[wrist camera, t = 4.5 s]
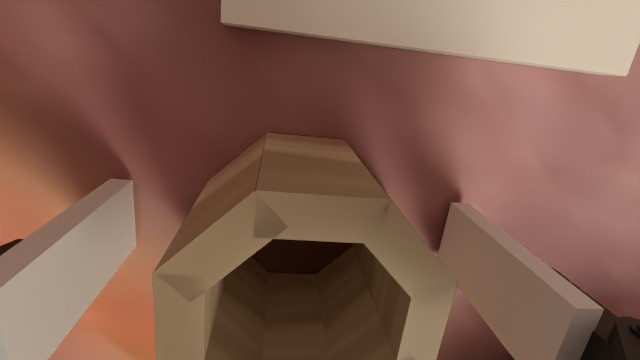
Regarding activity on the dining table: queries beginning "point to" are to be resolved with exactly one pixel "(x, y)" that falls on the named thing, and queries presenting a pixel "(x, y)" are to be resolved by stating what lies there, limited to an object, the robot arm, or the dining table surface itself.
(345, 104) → the dining table surface
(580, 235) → the dining table surface
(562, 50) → the post stand
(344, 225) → the maple ring
